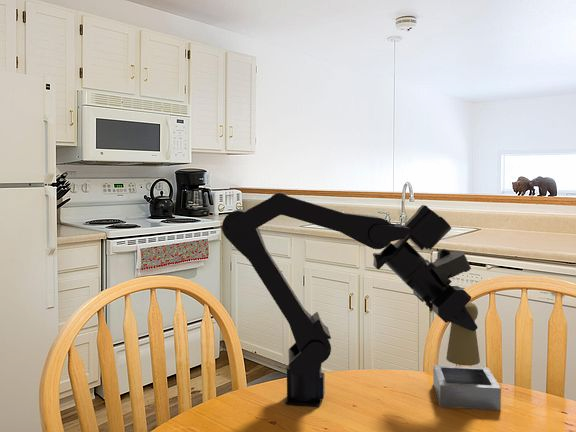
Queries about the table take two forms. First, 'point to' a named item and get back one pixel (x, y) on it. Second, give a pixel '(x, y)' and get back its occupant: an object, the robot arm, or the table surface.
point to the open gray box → (466, 387)
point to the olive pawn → (464, 342)
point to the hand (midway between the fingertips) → (470, 325)
